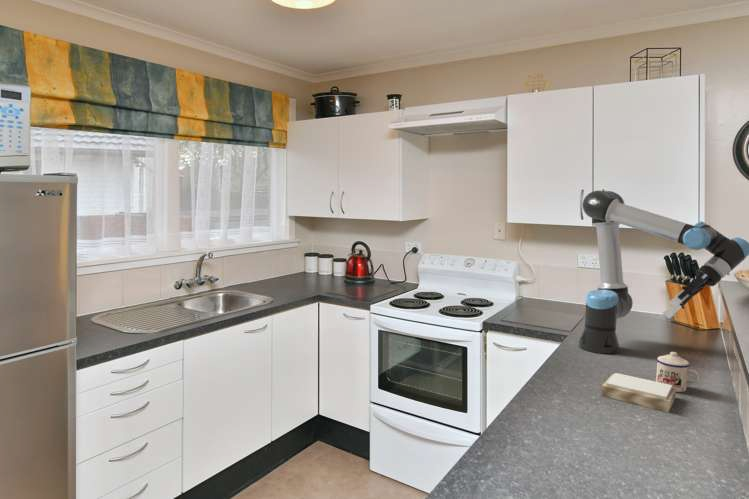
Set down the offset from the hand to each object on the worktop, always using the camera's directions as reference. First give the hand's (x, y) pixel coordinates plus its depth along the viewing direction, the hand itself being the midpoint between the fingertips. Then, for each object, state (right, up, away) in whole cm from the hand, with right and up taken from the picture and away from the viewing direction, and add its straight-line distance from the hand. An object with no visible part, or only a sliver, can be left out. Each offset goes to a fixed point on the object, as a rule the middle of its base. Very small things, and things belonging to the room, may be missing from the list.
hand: (668, 310), depth 180 cm
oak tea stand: (-26, -23, -27) cm, 44 cm away
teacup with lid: (-9, -23, -20) cm, 32 cm away
